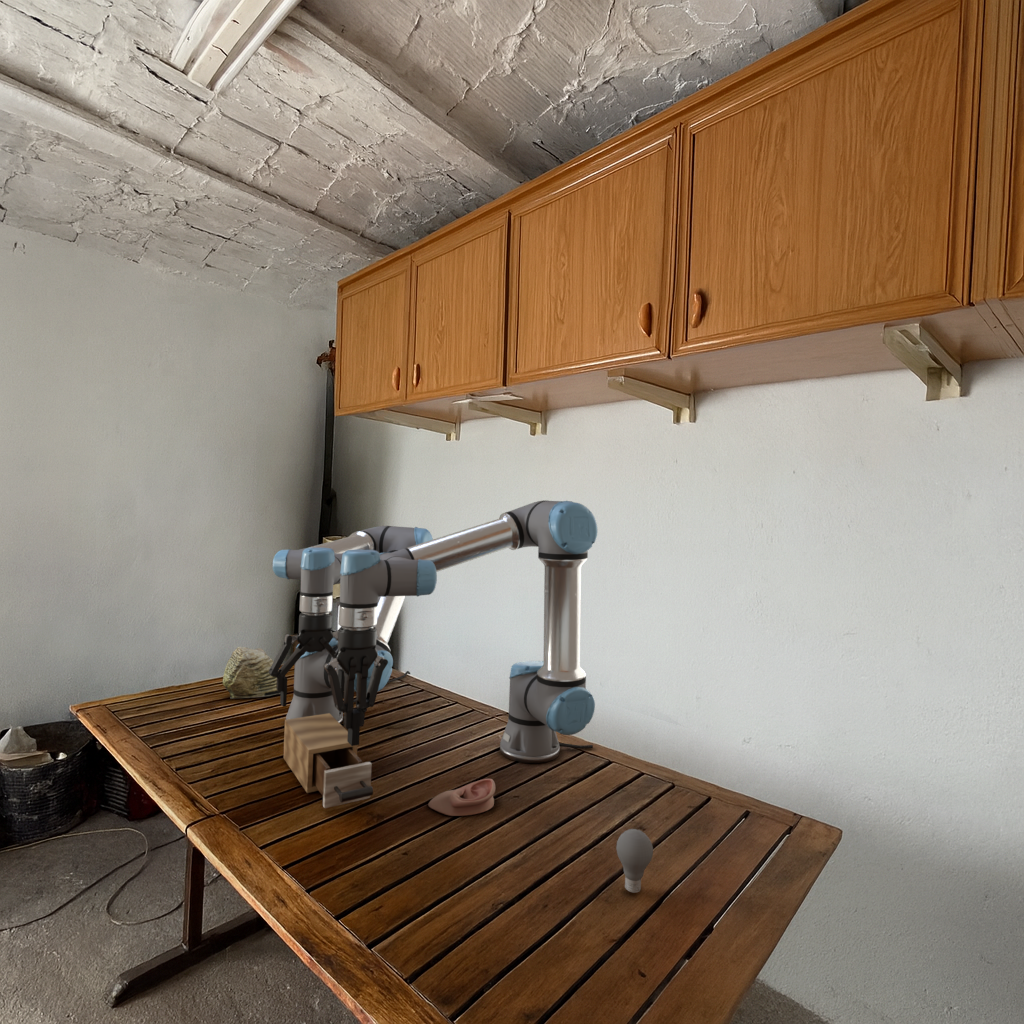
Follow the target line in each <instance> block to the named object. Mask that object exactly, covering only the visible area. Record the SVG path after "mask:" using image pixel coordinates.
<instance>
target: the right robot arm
mask: <svg viewBox="0 0 1024 1024" xmlns="http://www.w3.org/2000/svg"><path fill="white" fill-rule="evenodd" d="M597 537H598V523H597V520H596V517H595V515H594V514H593V512H592V511H591V510H590V509H589V508H588V507H587V506H585V505H584V504H582V503H579V502H575V501H571V500H547V499H546V500H538V501H534V502H531V503H528V504H525V505H523V506H520V507H517V508H515V509H511V510H509V511H506V512H503V513H501V514H500V515H499V517H498V518H497V519H493V520H491V521H487V522H485V523H481V524H478V525H475V526H472V527H469V528H466V529H462V530H459V531H456V532H453V533H449V534H447V535H443V536H440V537H436V538H433V540H430V541H427V542H424V543H421V544H418V545H414V546H411V547H408V548H406V549H402V550H398V551H395V552H392V553H390V552H384V553H379V552H378V551H375V550H359V549H357V550H347V551H345V552H344V553H343V555H342V562H341V571H340V574H341V575H340V584H339V589H340V590H339V592H340V593H339V608H338V609H339V611H338V625H339V626H340V627H339V628H338V629H337V630H338V650H337V653H336V654H335V659H333V660H332V661H331V662H329V663H325V664H324V665H323V667H324V669H325V670H326V671H327V673H328V676H329V680H330V685H331V690H332V695H333V699H334V704H335V707H336V708H337V709H338V710H339V711H341V712H343V727H344V728H345V729H346V730H347V731H348V739H347V741H348V742H349V744H350V745H351V746H355V745H357V746H359V745H360V733H361V732H360V731H361V727H364V725H365V718H366V717H365V716H366V715H365V714H366V713H367V711H368V709H369V708H372V707H374V706H375V703H376V700H377V696H378V692H379V691H378V688H379V684H380V681H381V677H382V673H383V670H384V669H385V667H386V665H387V664H388V660H387V659H385V658H383V657H380V656H379V655H378V652H377V650H376V636H377V629H376V628H375V627H374V626H375V625H376V624H377V608H378V597H386V596H406V597H420V596H430V595H431V594H433V593H434V591H435V590H436V587H437V584H438V583H437V581H438V572H441V571H444V570H446V569H447V570H448V569H450V568H454V567H456V566H458V565H462V564H464V563H467V562H471V561H473V560H478V559H479V558H483V557H486V556H489V555H491V554H494V553H497V552H500V551H503V550H506V549H509V550H511V551H516V550H519V549H523V548H529V547H532V548H533V547H534V548H537V549H538V550H537V552H538V553H537V558H538V559H537V560H539V561H540V562H541V563H542V564H543V567H544V577H543V579H544V580H543V581H544V584H543V585H544V586H543V587H544V588H543V589H544V591H543V593H544V594H543V602H544V603H543V660H525V661H519V662H515V663H513V664H512V666H510V672H509V677H508V678H509V690H508V692H509V693H508V718H507V723H506V725H505V729H504V731H503V734H502V737H501V739H500V742H499V752H500V754H501V755H502V756H504V757H505V758H506V759H508V760H511V761H514V762H519V763H525V764H544V763H547V762H551V761H554V760H555V759H557V758H558V757H559V755H560V747H563V748H571V749H577V750H578V749H579V750H587V749H588V750H589V749H594V745H593V744H587V745H585V744H584V745H581V744H580V745H577V744H571V743H565V742H564V743H563V742H559V738H558V734H559V735H563V736H572V735H573V736H574V735H576V734H578V733H579V732H582V731H583V730H584V729H586V726H587V725H588V724H590V723H591V721H592V719H593V716H594V715H595V710H596V702H595V697H594V695H593V694H592V693H591V691H590V690H589V689H587V673H586V672H585V670H584V669H583V668H582V667H581V603H582V602H581V601H582V600H581V597H582V595H581V593H582V591H581V589H582V566H583V564H584V563H585V562H586V561H587V560H588V557H589V552H588V551H589V550H590V549H592V547H593V544H595V543H596V540H597ZM373 662H374V667H373V671H372V674H371V678H370V682H369V686H368V689H367V677H368V669H369V668H370V667H371V665H372V664H373ZM338 664H339V665H340V666H341V668H342V669H343V670H344V676H345V683H344V698H343V697H342V693H341V688H340V683H339V678H338V674H337V672H336V671H337V670H338ZM356 674H357V690H356V692H354V681H355V678H356ZM366 689H367V693H366ZM355 693H356V694H355ZM355 696H356V697H355ZM355 699H356V702H354V700H355ZM354 703H355V707H356V708H354ZM557 733H558V734H557Z"/></svg>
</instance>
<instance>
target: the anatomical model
mask: <svg viewBox="0 0 1024 1024" xmlns="http://www.w3.org/2000/svg"><path fill="white" fill-rule="evenodd" d="M495 793H496V783H495V781H494V779H492V778H483V779H480V780H477V781H473V782H470V783H468V784H465V785H464V786H461V787H459V788H456V789H451V790H446V791H443V792H441V793H439V794H437V795H436V796H434V797H433V798H431V800H429V802H428V804H427V805H428V808H430V809H431V810H434V811H436V812H438V813H439V814H443V815H446V816H450V817H461V816H472V815H478V814H481V813H484V812H487V811H489V810H491V809H492V808H493V807H494V806H495V805H494V804H495V798H494V795H495Z"/></svg>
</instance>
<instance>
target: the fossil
mask: <svg viewBox="0 0 1024 1024" xmlns="http://www.w3.org/2000/svg"><path fill="white" fill-rule="evenodd" d="M273 662H274V660H273V659H272V658H271V657H270V656H269V655H268V654H267V653H266V652H265V650H264V649H263V648H260V647H258V648H251V647H247V646H246V647H245V646H238V647H237V648H236V649H235V650H233V651H232V653H231V656H230V657H229V659H228V660H227V663H226V666H225V668H224V671H223V675H222V676H223V677H222V685H223V687H224V688H225V690H226V691H228V693H229V698H230V699H250V698H264V697H271V696H275V695H281V692H278V691H277V689H276V685H277V677H272V676H271V675H270V674H269V669H270V667H271V666H272V664H273Z"/></svg>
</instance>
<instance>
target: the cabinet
mask: <svg viewBox="0 0 1024 1024" xmlns="http://www.w3.org/2000/svg"><path fill="white" fill-rule="evenodd" d="M283 734H284V735H283V738H284V739H283V760H284V761H285V762H286V764H287V766H288V767H289V768H290V771H292V773H293V774H294V776H295V777H296V779H297V780H298V782H299V783H300V785H301V786H302V789H304V791H305V792H306V793H307V794H309V793H314V792H319V790H318V789H317V787H316V786H315V785H314V783H313V782H312V774H313V754H315V753H321V752H326V751H332V750H337V749H343V748H348V747H349V748H350V749H351V750H352V751H353V752H354V753H355V754H356V755H357V756H358V745H355V746H351V745H350V744H349V742H348V741H347V739H348V729H346V728H345V727H344V725H342V723H341V724H340V723H339V722H338V721H337V720H336V719H335V718H334V717H333V716H332V715H331V714H330V713H328V714H321V715H314V716H308V717H301V718H294V719H288V720H286V719H284V733H283Z"/></svg>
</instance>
